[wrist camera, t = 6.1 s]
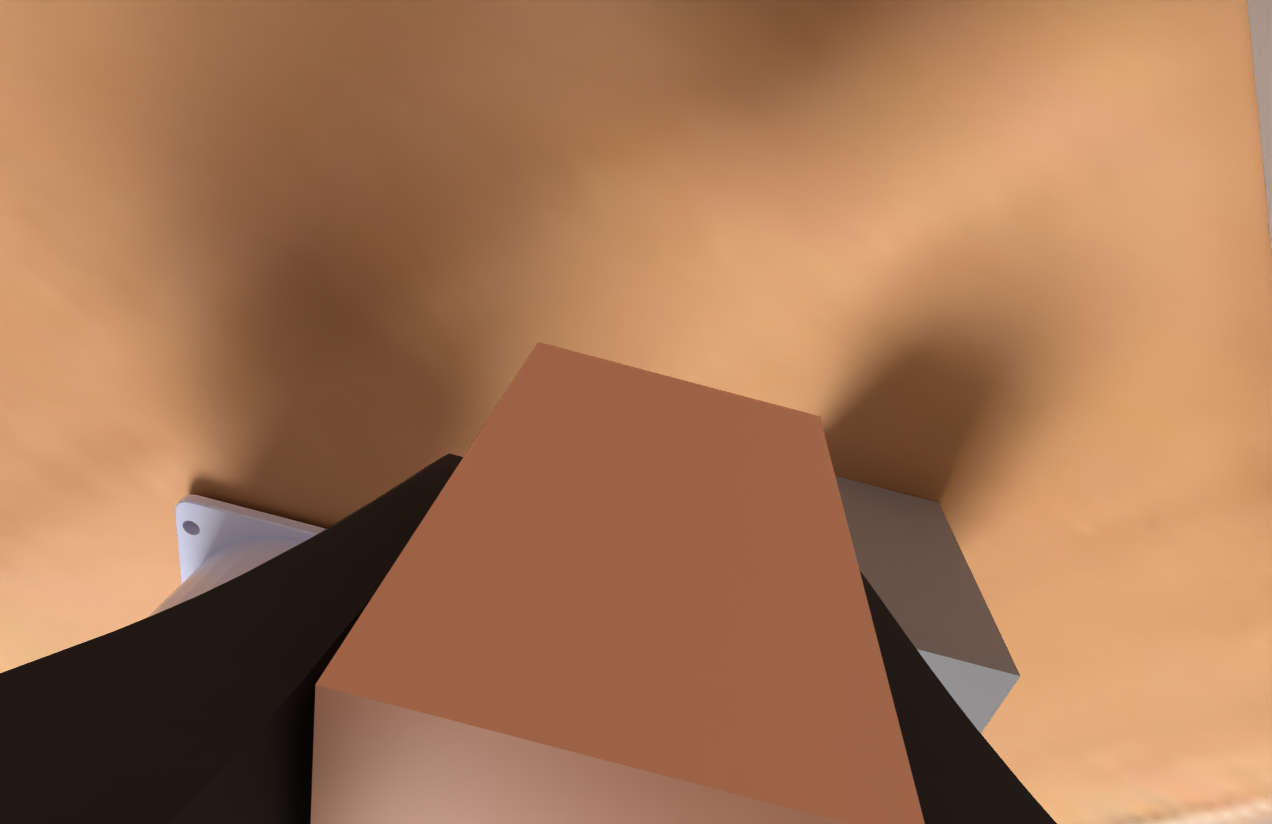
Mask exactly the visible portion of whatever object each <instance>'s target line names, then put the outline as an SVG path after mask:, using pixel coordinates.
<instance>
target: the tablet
mask: <svg viewBox="0 0 1272 824" xmlns="http://www.w3.org/2000/svg"><path fill="white" fill-rule="evenodd" d="M1247 3H1248V14H1249V24H1250V34H1251V44H1252V54H1253V65H1254V75H1255V85H1256V95H1257V105H1258V116H1259V126H1260V136H1261V146H1262V157H1263V167H1264V177H1265V187H1266V197H1267V208H1268V218H1269V228H1270V238H1271V248H1272V0H1247Z"/></svg>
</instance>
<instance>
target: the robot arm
mask: <svg viewBox="0 0 1272 824" xmlns="http://www.w3.org/2000/svg"><path fill="white" fill-rule="evenodd" d="M462 459H463V457H460V456H456V455H453V454H448V455H446V456H444V457H442V458H440V459H439V460H437V461H435V462H434V463H432V464H430V465H429V466H427V467H426V468H424V469H423V470H421V471H419V472H418V473H416V474H415V475H413V476H412V477H410V478H409V479H407V480H406V481H404V482H402V483H401V484H399V485H398V486H396V487H395V488H393V489H391V490H390V491H388V492H387V493H385V494H383V495H382V496H380V497H379V498H377V499H375V500H374V501H372V502H371V503H369V504H367V505H366V506H364V507H362V508H361V509H359V510H357V511H356V512H354V513H352V514H351V515H349V516H347V517H346V518H344V519H342V520H340V521H339V522H337V523H335V524H334V525H332V526H330V527H329V528H327V529H325V528H321V527H318V526H314V525H310V524H306V523H302V522H299V521H295V520H291V519H287V518H283V517H279V516H276V515H272V514H268V513H264V512H260V511H256V510H253V509H249V508H245V507H241V506H237V505H234V504H230V503H226V502H222V501H218V500H214V499H211V498H207V497H203V496H199V495H192V494H191V495H187V496H185V497H184V498H183V499H182V500H180V501H179V502H178V503H177V504H176V508H175V514H176V526H177V537H178V549H179V561H180V573H181V585H180V586H179V587H178V588H177V589H176V590H175V591H174V592H173V593H172V594H171V595H170V596H169V597H168V598H167V599H166V600H165V601H164V602H163V603H162V604H161V605H160V606H159V607H158V608H157V609H156V610H155V611H154V612H153V613H152V614H151V615H150V616H149V617H148V618H145V619H143V620H141V621H138V622H136V623H133V624H131V625H129V626H126V627H124V628H121V629H119V630H116V631H114V632H111V633H108V634H106V635H103V636H100V637H98V638H95V639H92V640H89V641H87V642H84V643H81V644H79V645H76V646H73V647H70V648H68V649H65V650H62V651H60V652H57V653H54V654H52V655H49V656H46V657H43V658H41V659H38V660H35V661H33V662H30V663H27V664H25V665H22V666H19V667H16V668H14V669H11V670H8V671H6V672H3V673H0V824H311V797H312V768H313V739H314V710H315V684H316V683H317V681H318V680H319V678H320V677H321V675H322V674H323V672H324V671H325V669H326V668H327V666H328V665H329V663H330V661H331V660H332V658H333V657H334V655H335V654H336V652H337V651H338V649H339V648H340V646H341V645H342V643H343V641H344V640H345V638H346V637H347V635H348V634H349V632H350V631H351V629H352V628H353V626H354V625H355V623H356V622H357V620H358V618H359V617H360V615H361V614H362V612H363V611H364V609H365V608H366V606H367V605H368V603H369V602H370V600H371V598H372V597H373V595H374V594H375V592H376V591H377V589H378V588H379V586H380V585H381V583H382V582H383V580H384V579H385V577H386V575H387V574H388V572H389V571H390V569H391V568H392V566H393V565H394V563H395V562H396V560H397V559H398V557H399V555H400V554H401V552H402V551H403V549H404V548H405V546H406V545H407V543H408V542H409V540H410V539H411V537H412V535H413V534H414V532H415V531H416V529H417V528H418V526H419V525H420V523H421V522H422V520H423V519H424V517H425V516H426V514H427V512H428V511H429V509H430V508H431V506H432V505H433V503H434V502H435V500H436V499H437V497H438V496H439V494H440V492H441V491H442V489H443V488H444V486H445V485H446V483H447V482H448V480H449V479H450V477H451V476H452V474H453V473H454V471H455V469H456V468H457V466H458V465H459V463H460V462H461V460H462ZM193 522H194V523H196V524H197V525H198V526H197V525H195V524H194V523H193ZM860 574H861V578H862V582H863V586H864V590H865V593H866V597H867V601H868V605H869V609H870V613H871V617H872V621H873V625H874V628H875V632H876V636H877V640H878V644H879V648H880V652H881V656H882V660H883V663H884V667H885V671H886V675H887V679H888V683H889V687H890V691H891V694H892V698H893V702H894V706H895V710H896V714H897V718H898V722H899V726H900V729H901V733H902V737H903V741H904V745H905V749H906V753H907V757H908V761H909V764H910V768H911V772H912V776H913V780H914V784H915V788H916V792H917V795H918V799H919V803H920V807H921V811H922V815H923V819H924V823H925V824H1057V823H1056V822H1055V821H1054V820H1053V819H1052V818H1051V817H1050V815H1049V814H1048V813H1047V812H1046V811H1045V810H1044V809H1043V807H1042V806H1041V805H1040V804H1039V803H1038V802H1037V801H1036V799H1035V798H1034V797H1033V796H1032V795H1031V794H1030V793H1029V791H1028V790H1027V789H1026V788H1025V787H1024V786H1023V784H1022V783H1021V782H1020V781H1019V780H1018V778H1017V777H1016V776H1015V775H1014V774H1013V772H1012V771H1011V770H1010V769H1009V767H1008V766H1007V765H1006V764H1005V763H1004V761H1003V760H1002V759H1001V758H1000V757H999V755H998V754H997V753H996V752H995V750H994V749H993V748H992V747H991V746H990V744H989V743H988V742H987V741H986V739H985V738H984V737H983V736H982V735H981V733H980V732H979V731H978V730H977V728H976V727H975V726H974V725H973V723H972V722H971V721H970V719H969V718H968V717H967V716H966V714H965V713H964V712H963V710H962V709H961V708H960V707H959V705H958V704H957V703H956V701H955V700H954V699H953V697H952V696H951V695H950V694H949V692H948V691H947V690H946V688H945V687H944V686H943V684H942V683H941V682H940V680H939V679H938V678H937V676H936V675H935V673H934V672H933V671H932V669H931V668H930V667H929V665H928V664H927V663H926V661H925V660H924V659H923V657H922V656H921V654H920V653H919V652H918V650H917V649H916V648H915V646H914V645H913V643H912V642H911V641H910V639H909V638H908V636H907V635H906V634H905V632H904V631H903V629H902V628H901V627H900V625H899V624H898V622H897V621H896V620H895V618H894V617H893V615H892V614H891V613H890V611H889V610H888V608H887V607H886V606H885V604H884V603H883V601H882V600H881V599H880V597H879V596H878V594H877V593H876V591H875V590H874V589H873V587H872V586H871V585H870V583H869V582H868V580H867V579H866V578H865V576H864V575H863V574H862V572H861V571H860Z"/></svg>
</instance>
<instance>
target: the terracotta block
mask: <svg viewBox="0 0 1272 824" xmlns="http://www.w3.org/2000/svg"><path fill="white" fill-rule="evenodd" d="M311 824H925V823H924V819H923V815H922V811H921V807H920V803H919V799H918V795H917V792H916V788H915V784H914V780H913V776H912V772H911V768H910V764H909V761H908V757H907V753H906V749H905V745H904V741H903V737H902V733H901V729H900V726H899V722H898V718H897V714H896V710H895V706H894V702H893V698H892V694H891V691H890V687H889V683H888V679H887V675H886V671H885V667H884V663H883V660H882V656H881V652H880V648H879V644H878V640H877V636H876V632H875V628H874V625H873V621H872V617H871V613H870V609H869V605H868V601H867V597H866V593H865V590H864V586H863V582H862V578H861V574H860V570H859V566H858V562H857V559H856V555H855V551H854V547H853V543H852V539H851V535H850V531H849V527H848V524H847V520H846V516H845V512H844V508H843V504H842V500H841V496H840V492H839V489H838V485H837V481H836V477H835V473H834V469H833V465H832V461H831V458H830V454H829V450H828V446H827V442H826V438H825V434H824V430H823V426H822V423H821V419H820V416H816V415H812V414H809V413H805V412H801V411H797V410H793V409H790V408H786V407H782V406H778V405H774V404H771V403H767V402H763V401H759V400H755V399H752V398H748V397H744V396H740V395H736V394H733V393H729V392H725V391H721V390H718V389H714V388H710V387H706V386H702V385H699V384H695V383H691V382H687V381H683V380H680V379H676V378H672V377H668V376H664V375H661V374H657V373H653V372H649V371H645V370H642V369H638V368H634V367H630V366H626V365H623V364H619V363H615V362H611V361H607V360H604V359H600V358H596V357H592V356H588V355H585V354H581V353H577V352H573V351H569V350H566V349H562V348H558V347H554V346H551V345H547V344H543V343H539V342H538V343H537V345H536V347H535V348H534V350H533V351H532V353H531V354H530V356H529V357H528V359H527V360H526V362H525V363H524V365H523V367H522V368H521V370H520V371H519V373H518V374H517V376H516V377H515V379H514V380H513V382H512V383H511V385H510V386H509V388H508V390H507V391H506V393H505V394H504V396H503V397H502V399H501V400H500V402H499V403H498V405H497V406H496V408H495V410H494V411H493V413H492V414H491V416H490V417H489V419H488V420H487V422H486V423H485V425H484V426H483V428H482V429H481V431H480V433H479V434H478V436H477V437H476V439H475V440H474V442H473V443H472V445H471V446H470V448H469V449H468V451H467V453H466V454H465V456H464V457H463V459H462V460H461V462H460V463H459V465H458V466H457V468H456V469H455V471H454V473H453V474H452V476H451V477H450V479H449V480H448V482H447V483H446V485H445V486H444V488H443V489H442V491H441V492H440V494H439V496H438V497H437V499H436V500H435V502H434V503H433V505H432V506H431V508H430V509H429V511H428V512H427V514H426V516H425V517H424V519H423V520H422V522H421V523H420V525H419V526H418V528H417V529H416V531H415V532H414V534H413V535H412V537H411V539H410V540H409V542H408V543H407V545H406V546H405V548H404V549H403V551H402V552H401V554H400V555H399V557H398V559H397V560H396V562H395V563H394V565H393V566H392V568H391V569H390V571H389V572H388V574H387V575H386V577H385V579H384V580H383V582H382V583H381V585H380V586H379V588H378V589H377V591H376V592H375V594H374V595H373V597H372V598H371V600H370V602H369V603H368V605H367V606H366V608H365V609H364V611H363V612H362V614H361V615H360V617H359V618H358V620H357V622H356V623H355V625H354V626H353V628H352V629H351V631H350V632H349V634H348V635H347V637H346V638H345V640H344V641H343V643H342V645H341V646H340V648H339V649H338V651H337V652H336V654H335V655H334V657H333V658H332V660H331V661H330V663H329V665H328V666H327V668H326V669H325V671H324V672H323V674H322V675H321V677H320V678H319V680H318V681H317V683H316V684H315V710H314V739H313V768H312V797H311Z"/></svg>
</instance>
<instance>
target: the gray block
mask: <svg viewBox="0 0 1272 824" xmlns="http://www.w3.org/2000/svg"><path fill="white" fill-rule="evenodd" d="M835 477H836V481H837V485H838V489H839V492H840V496H841V500H842V504H843V508H844V512H845V516H846V520H847V524H848V527H849V531H850V535H851V539H852V543H853V547H854V551H855V555H856V559H857V562H858V566H859V570H860V571H861V572H862V574H863V575H864V576H865V578H866V579H867V580H868V582H869V583H870V585H871V586H872V587H873V589H874V590H875V591H876V593H877V594H878V596H879V597H880V599H881V600H882V601H883V603H884V604H885V606H886V607H887V608H888V610H889V611H890V613H891V614H892V615H893V617H894V618H895V620H896V621H897V622H898V624H899V625H900V627H901V628H902V629H903V631H904V632H905V634H906V635H907V636H908V638H909V639H910V641H911V642H912V643H913V645H914V646H915V648H916V649H917V650H918V652H919V653H920V654H921V656H922V657H923V659H924V660H925V661H926V663H927V664H928V665H929V667H930V668H931V669H932V671H933V672H934V673H935V675H936V676H937V678H938V679H939V680H940V682H941V683H942V684H943V686H944V687H945V688H946V690H947V691H948V692H949V694H950V695H951V696H952V697H953V699H954V700H955V701H956V703H957V704H958V705H959V707H960V708H961V709H962V710H963V712H964V713H965V714H966V716H967V717H968V718H969V719H970V721H971V722H972V723H973V725H974V726H975V727H976V728H977V730H978V731H979V732H980V733H982V731H983V730H984V728H985V727H986V725H987V724H988V722H989V721H990V719H991V718H992V717H993V715H994V714H995V712H996V711H997V709H998V708H999V706H1000V705H1001V703H1002V702H1003V701H1004V699H1005V698H1006V696H1007V695H1008V693H1009V692H1010V690H1011V689H1012V687H1013V686H1014V685H1015V683H1016V682H1017V680H1018V679H1019V677H1020V674H1019V672H1018V670H1017V668H1016V666H1015V664H1014V662H1013V660H1012V657H1011V655H1010V653H1009V651H1008V649H1007V647H1006V645H1005V643H1004V640H1003V638H1002V636H1001V634H1000V632H999V630H998V628H997V626H996V623H995V621H994V619H993V617H992V615H991V613H990V611H989V609H988V606H987V604H986V602H985V600H984V598H983V596H982V594H981V592H980V590H979V587H978V585H977V583H976V581H975V579H974V577H973V575H972V573H971V570H970V568H969V566H968V564H967V562H966V560H965V558H964V556H963V553H962V551H961V549H960V547H959V545H958V543H957V541H956V539H955V536H954V534H953V532H952V530H951V528H950V526H949V524H948V522H947V519H946V517H945V515H944V513H943V511H942V509H941V507H940V505H939V503H938V502H934V501H930V500H926V499H923V498H919V497H915V496H911V495H907V494H903V493H900V492H896V491H892V490H888V489H884V488H881V487H877V486H873V485H869V484H865V483H862V482H858V481H854V480H850V479H846V478H843V477H839V476H835Z"/></svg>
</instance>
